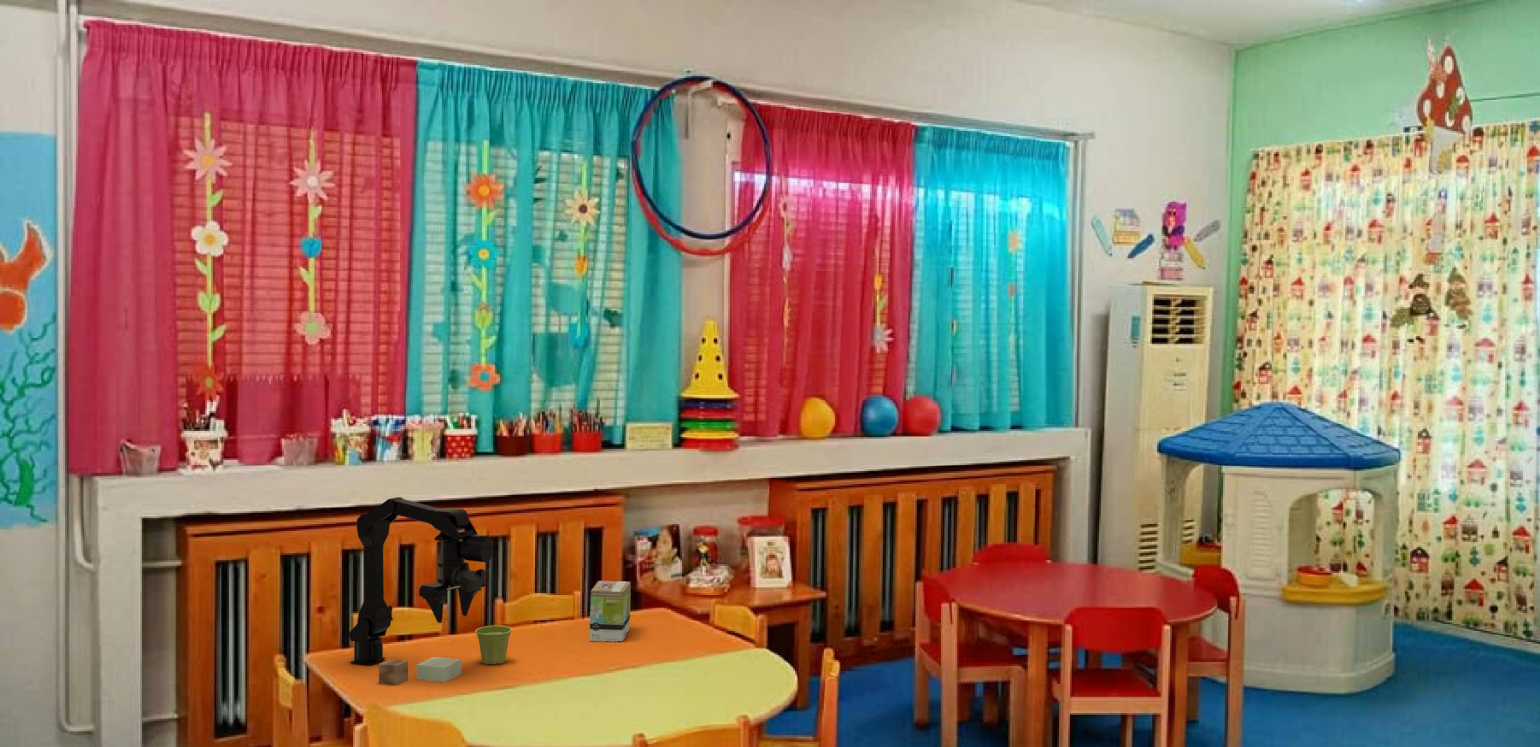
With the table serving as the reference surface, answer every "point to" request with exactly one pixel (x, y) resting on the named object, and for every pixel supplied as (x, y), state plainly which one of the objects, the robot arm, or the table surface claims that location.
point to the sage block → (438, 669)
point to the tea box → (610, 611)
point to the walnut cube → (393, 672)
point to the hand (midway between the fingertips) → (452, 619)
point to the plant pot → (493, 643)
